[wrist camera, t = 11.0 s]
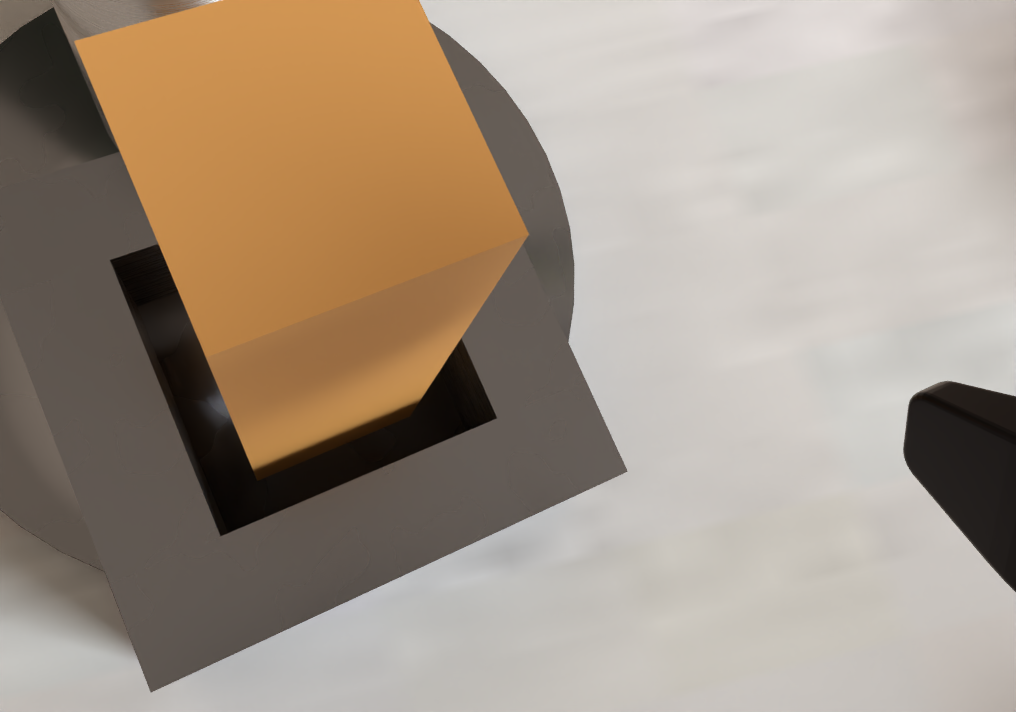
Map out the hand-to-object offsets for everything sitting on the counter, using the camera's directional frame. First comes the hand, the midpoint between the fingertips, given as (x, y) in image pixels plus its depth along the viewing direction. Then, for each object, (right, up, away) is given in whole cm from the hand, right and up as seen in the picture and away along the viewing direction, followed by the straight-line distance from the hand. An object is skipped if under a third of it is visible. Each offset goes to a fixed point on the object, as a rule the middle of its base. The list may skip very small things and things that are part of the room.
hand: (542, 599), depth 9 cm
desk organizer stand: (-6, +4, +14) cm, 15 cm away
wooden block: (-5, +2, +12) cm, 13 cm away
